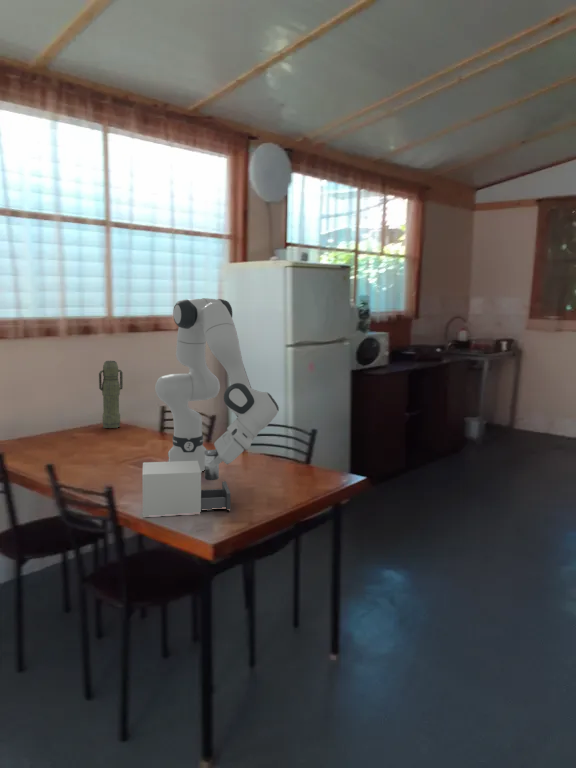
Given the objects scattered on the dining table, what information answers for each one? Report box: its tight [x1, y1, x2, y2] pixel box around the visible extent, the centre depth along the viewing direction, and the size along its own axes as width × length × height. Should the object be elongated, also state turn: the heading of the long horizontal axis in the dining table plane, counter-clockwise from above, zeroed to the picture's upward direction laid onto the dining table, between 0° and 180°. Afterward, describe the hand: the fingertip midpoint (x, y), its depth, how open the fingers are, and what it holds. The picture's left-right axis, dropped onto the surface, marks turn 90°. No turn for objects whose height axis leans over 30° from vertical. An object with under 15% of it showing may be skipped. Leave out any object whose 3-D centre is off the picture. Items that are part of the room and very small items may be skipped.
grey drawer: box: [201, 480, 231, 510], centre depth 198 cm, size 13×17×6 cm
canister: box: [204, 449, 220, 481], centre depth 197 cm, size 5×5×9 cm
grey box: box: [141, 461, 202, 517], centre depth 195 cm, size 14×18×14 cm
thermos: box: [98, 360, 124, 429], centre depth 314 cm, size 9×12×35 cm
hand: (209, 464), depth 197 cm, fingers closed on canister, 5 cm apart
